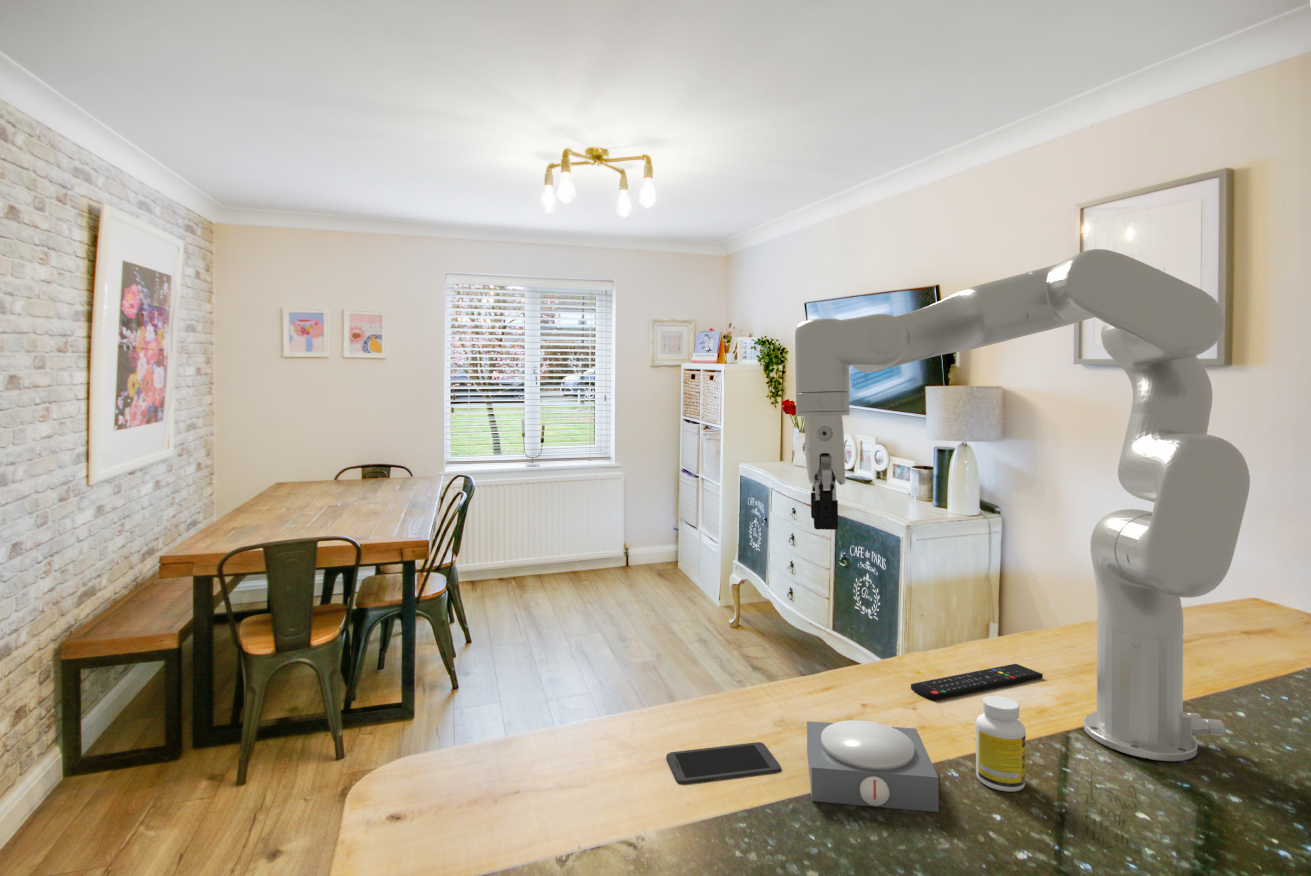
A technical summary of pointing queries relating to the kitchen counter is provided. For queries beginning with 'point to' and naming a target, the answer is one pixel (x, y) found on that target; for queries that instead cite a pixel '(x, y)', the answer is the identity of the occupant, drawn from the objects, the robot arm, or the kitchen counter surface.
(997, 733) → the supplement bottle
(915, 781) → the kitchen scale
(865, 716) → the kitchen counter surface
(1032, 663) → the kitchen counter surface
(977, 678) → the remote control
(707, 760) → the cell phone
